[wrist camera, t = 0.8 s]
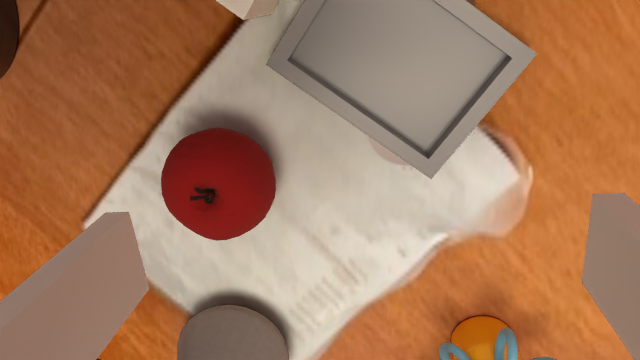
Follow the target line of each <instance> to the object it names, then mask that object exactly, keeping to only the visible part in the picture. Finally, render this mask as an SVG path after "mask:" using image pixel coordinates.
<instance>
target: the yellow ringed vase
mask: <svg viewBox="0 0 640 360" xmlns="http://www.w3.org/2000/svg"><path fill="white" fill-rule="evenodd" d="M449 352H451V353H452V355H453V360H522V357H521V354H520V351H519V349H518V346H517V340H516V337H515V334H514V332H513V331H512V330H511V329H510V328H509V327H508V326H507V325H506V324H505V323H503V322H502V321H500V320H498V319H496V318H493V317H488V316H477V317H473V318H469V319H467V320H464V321H463V322H462V323H460V324H459V325H458V326H457V327H456V328H455V330H454V331H453V334H452V336H451V343H449V342H446V343H443V344H442V345H441V346H440V349H439V355H440V359H441V360H451V359H450V356H449ZM530 360H556V359H554V358H550V357H537V358H533V359H530Z"/></svg>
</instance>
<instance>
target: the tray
mask: <svg viewBox="0 0 640 360" xmlns="http://www.w3.org/2000/svg"><path fill="white" fill-rule="evenodd" d="M536 55H537V53H536V52H534V51H533V50H532V49H530V48H529V47H528V46H526V45H525V44H524V43H522V42H521V41H520V40H518V39H517V38H515V37H514V36H513V35H511V34H510V33H509V32H507V31H506V30H505V29H503V28H502V27H501V26H499V25H498V24H497V23H495V22H494V21H493V20H491V19H490V18H489V17H487V16H486V15H485V14H483V13H482V12H481V11H479V10H478V9H477V8H475V7H474V6H472V5H471V4H470V3H468V2H467V1H466V0H305V1H304V3H303V4H302V6H301V8H300V9H299V11H298V13H297V14H296V16H295V18H294V19H293V21H292V22H291V24H290V26H289V27H288V29H287V31H286V32H285V34H284V36H283V37H282V39H281V41H280V42H279V44H278V46H277V47H276V49H275V51H274V52H273V54H272V56H271V57H270V59H269V61H268V62H267V64H266V65H267V66H269V67H270V68H272V69H273V70H275V71H276V72H277V73H279V74H280V75H282V76H283V77H285V78H286V79H287V80H289V81H290V82H292V83H293V84H295V85H296V86H298V87H299V88H300V89H302V90H303V91H305V92H306V93H308V94H309V95H311V96H312V97H313V98H315V99H316V100H318V101H319V102H321V103H322V104H324V105H325V106H326V107H328V108H329V109H331V110H332V111H334V112H335V113H337V114H338V115H339V116H341V117H342V118H344V119H345V120H347V121H348V122H350V123H351V124H352V125H354V126H355V127H357V128H358V129H360V130H361V131H363V132H364V133H365V134H367V135H368V136H370V137H371V138H373V139H374V140H376V141H377V142H379V143H380V144H381V145H383V146H384V147H386V148H387V149H389V150H390V151H392V152H393V153H394V154H396V155H397V156H399V157H400V158H402V159H403V160H404V161H406V162H407V163H409V164H410V165H412V166H413V167H414V168H416V169H417V170H419V171H420V172H422V173H423V174H425V175H426V176H427V177H429V178H430V179H432V177H433V176H434V175H435V174H436V173H437V172H438V170H439V169H440V168H441V167H442V166H443V164H444V163H445V162H446V161H447V160H448V159H449V157H450V156H451V155H452V154H453V153H454V152H455V150H456V149H457V148H458V147H459V146H460V144H461V143H462V142H463V141H464V140H465V139H466V137H467V136H468V135H469V134H470V133H471V131H472V130H473V129H474V128H475V127H476V126H477V124H478V123H479V122H480V121H481V120H482V118H483V117H484V116H485V115H486V114H487V113H488V111H489V110H490V109H491V108H492V107H493V106H494V104H495V103H496V102H497V101H498V100H499V98H500V97H501V96H502V95H503V94H504V93H505V91H506V90H507V89H508V88H509V87H510V85H511V84H512V83H513V82H514V81H515V80H516V78H517V77H518V76H519V75H520V74H521V72H522V71H523V70H524V69H525V68H526V67H527V65H528V64H529V63H530V62H531V61H532V60H533V58H534V57H535V56H536Z"/></svg>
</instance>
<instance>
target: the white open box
mask: <svg viewBox="0 0 640 360" xmlns="http://www.w3.org/2000/svg"><path fill="white" fill-rule="evenodd" d="M216 1H217V2H218V3H220V4H221V5H223V6H224V7H226V8H227V9H228V10H230V11H231V12H233V13H234V14H236V15H237V16H238V17H240V18H241V19H243V20H245V19H250V18H255V17H260V16H265V15H270V14H272V13H273V11H274V9H275V7H276V6H277V4H278V2H279V1H280V0H216Z"/></svg>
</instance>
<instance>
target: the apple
mask: <svg viewBox="0 0 640 360" xmlns="http://www.w3.org/2000/svg"><path fill="white" fill-rule="evenodd" d="M161 187H162V195H163V198H164V201H165V204H166V206H167V208H168V210H169V212H170V213H171V214H172V215H173V216H174V217H175V218H176V219H177V220H178V221H179V222H181V223H182V224H183V225H184V226H185V227H187V228H189V229H190V230H192V231H193V232H195V233H197V234H199V235H201V236H203V237H205V238H208V239H212V240H227V239H231V238H234V237H238V236H240V235H242V234H244V233H246V232H248V231H250V230H251V229H253V228H254V227H255V226H257V225H258V224H259V223H260V222H261V221H262V220H263V219H264V218H265V216H266V214H267V213H268V211H269V209H270V207H271V205H272V202H273V200H274V198H275V191H276V183H275V176H274V171H273V167H272V163H271V161H270V159H269V157H268V155H267V153H266V152H265V151H264V150H263V149H262V147H261V146H260V145H259V144H257V143H256V142H255V141H254V140H253V139H251V138H249V137H248V136H246V135H244V134H241V133H238V132H235V131H232V130H228V129H222V128H218V129H207V130H204V131H200V132H197V133H194V134H191V135H189V136H187V137H185V138H183V139H182V140H181V141H179V143H178V144H177V145H176V146H175V147H174V148H173V149H172V150H171V152H170V154H169V155H168V157H167V159H166V162H165V165H164V168H163V171H162V177H161Z"/></svg>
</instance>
